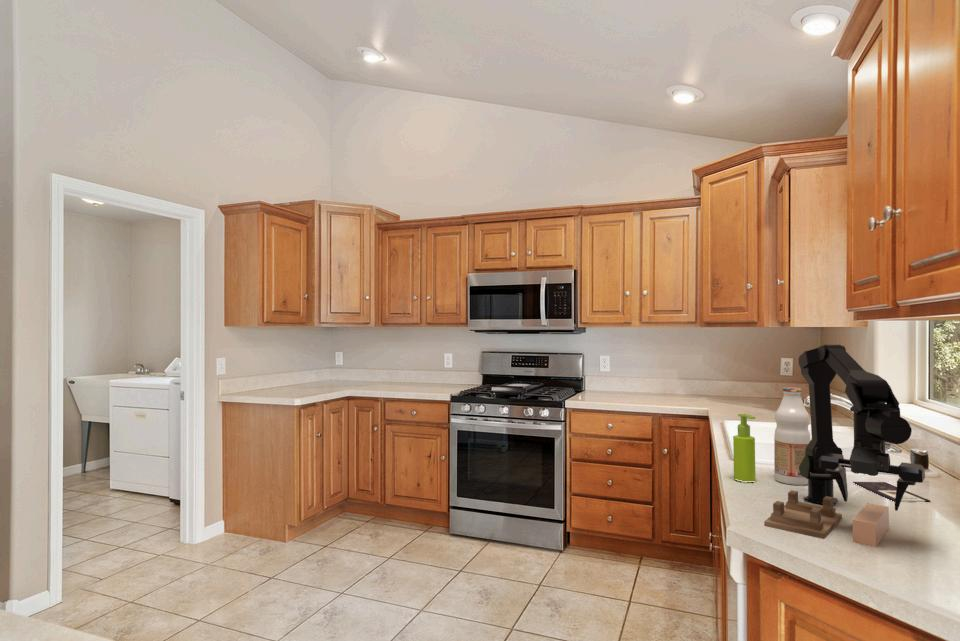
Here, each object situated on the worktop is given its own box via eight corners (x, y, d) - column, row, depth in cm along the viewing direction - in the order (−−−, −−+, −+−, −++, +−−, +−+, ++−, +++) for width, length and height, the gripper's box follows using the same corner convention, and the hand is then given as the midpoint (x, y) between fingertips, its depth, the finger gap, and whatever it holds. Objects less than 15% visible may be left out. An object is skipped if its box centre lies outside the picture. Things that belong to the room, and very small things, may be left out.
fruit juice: (771, 481, 164) (771, 387, 165) (777, 475, 172) (777, 385, 172) (807, 487, 159) (807, 390, 159) (812, 481, 166) (812, 387, 166)
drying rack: (786, 507, 141) (786, 487, 141) (842, 518, 133) (841, 497, 133) (764, 525, 128) (764, 503, 128) (824, 538, 120) (823, 515, 120)
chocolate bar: (885, 482, 162) (930, 500, 144) (885, 485, 162) (930, 504, 144) (853, 481, 163) (894, 500, 145) (853, 484, 163) (894, 503, 145)
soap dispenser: (745, 484, 162) (744, 416, 162) (729, 478, 169) (728, 413, 169) (762, 483, 163) (761, 415, 164) (746, 477, 170) (745, 412, 171)
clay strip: (868, 524, 129) (867, 503, 129) (889, 528, 126) (888, 506, 126) (852, 543, 118) (852, 519, 118) (875, 548, 115) (875, 524, 115)
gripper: (812, 434, 123) (813, 505, 123) (918, 446, 110) (920, 525, 110) (824, 428, 131) (825, 494, 131) (924, 438, 118) (926, 511, 118)
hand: (870, 505), depth 122 cm, fingers open, 9 cm apart
